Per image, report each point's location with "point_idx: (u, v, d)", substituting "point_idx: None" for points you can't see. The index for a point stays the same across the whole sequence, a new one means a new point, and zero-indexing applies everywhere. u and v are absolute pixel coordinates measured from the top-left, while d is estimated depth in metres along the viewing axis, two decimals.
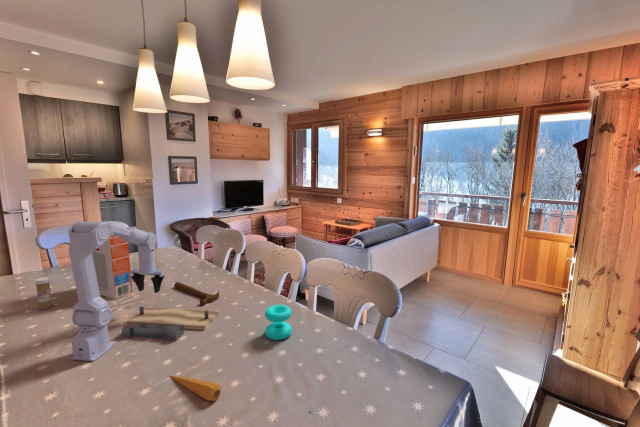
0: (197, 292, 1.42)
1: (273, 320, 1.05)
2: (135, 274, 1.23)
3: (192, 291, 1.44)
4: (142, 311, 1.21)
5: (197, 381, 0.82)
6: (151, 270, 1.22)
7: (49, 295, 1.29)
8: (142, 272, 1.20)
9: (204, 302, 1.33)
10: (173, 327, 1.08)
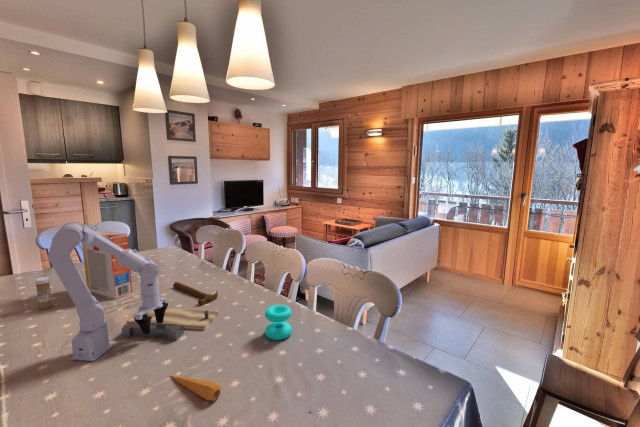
0: (196, 292, 1.42)
1: (273, 320, 1.05)
2: None
3: (191, 291, 1.44)
4: None
5: (197, 381, 0.82)
6: (143, 306, 1.05)
7: (49, 295, 1.29)
8: None
9: (202, 302, 1.33)
10: (173, 327, 1.08)
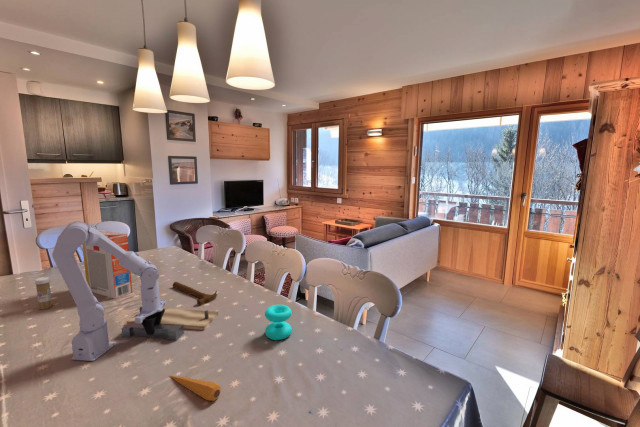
0: (195, 292, 1.42)
1: (273, 320, 1.05)
2: None
3: (190, 291, 1.44)
4: None
5: (197, 381, 0.82)
6: (143, 310, 1.05)
7: (49, 295, 1.29)
8: None
9: (201, 302, 1.33)
10: (173, 327, 1.08)
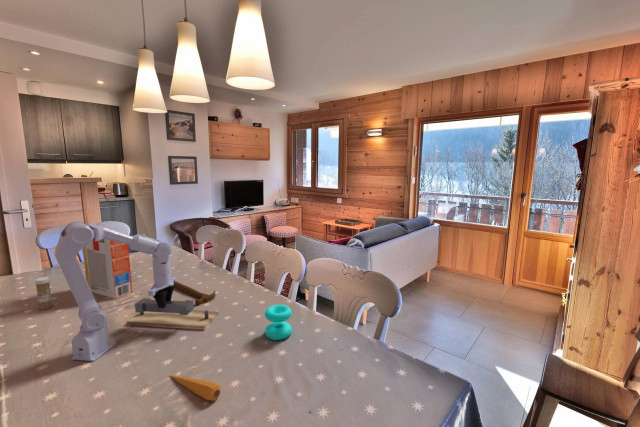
0: (193, 292, 1.43)
1: (273, 320, 1.05)
2: None
3: (189, 291, 1.44)
4: None
5: (197, 381, 0.82)
6: (155, 284, 1.10)
7: (49, 295, 1.29)
8: None
9: (199, 302, 1.33)
10: (183, 302, 1.14)
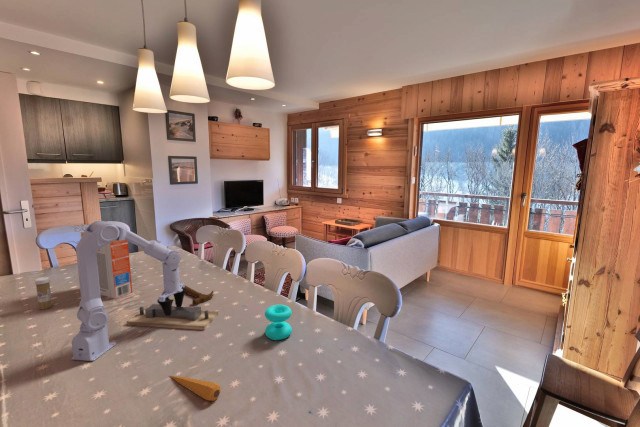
0: (191, 291, 1.43)
1: (273, 320, 1.05)
2: None
3: (187, 290, 1.45)
4: (142, 311, 1.21)
5: (197, 381, 0.82)
6: (165, 290, 1.16)
7: (49, 295, 1.29)
8: None
9: (196, 302, 1.33)
10: (192, 309, 1.19)
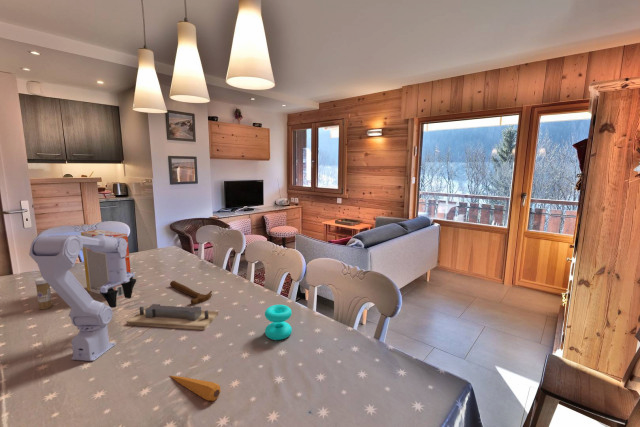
0: (190, 291, 1.43)
1: (273, 320, 1.05)
2: None
3: (185, 290, 1.45)
4: (142, 311, 1.21)
5: (197, 381, 0.82)
6: (110, 281, 1.08)
7: (49, 295, 1.29)
8: None
9: (194, 302, 1.33)
10: (192, 309, 1.19)
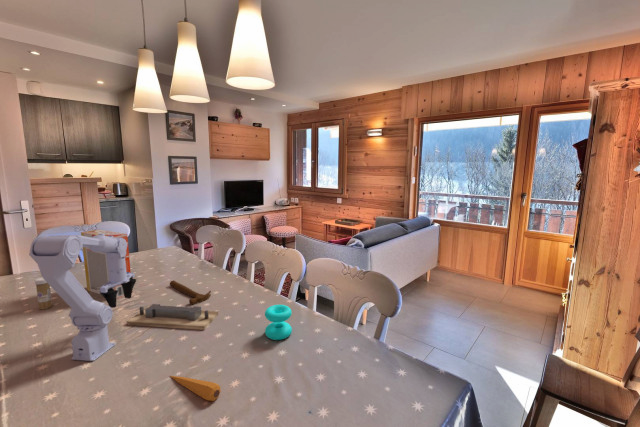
0: (189, 291, 1.43)
1: (273, 320, 1.05)
2: None
3: (185, 290, 1.45)
4: (142, 311, 1.21)
5: (197, 381, 0.82)
6: (109, 281, 1.08)
7: (49, 295, 1.29)
8: None
9: (193, 302, 1.33)
10: (192, 309, 1.19)
